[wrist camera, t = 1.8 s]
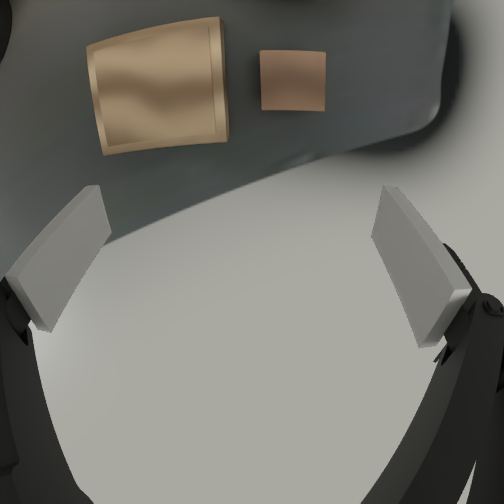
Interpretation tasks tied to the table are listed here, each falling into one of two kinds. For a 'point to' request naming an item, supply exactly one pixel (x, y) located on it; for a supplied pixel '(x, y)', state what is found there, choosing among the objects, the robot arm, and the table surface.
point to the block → (292, 80)
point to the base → (160, 86)
